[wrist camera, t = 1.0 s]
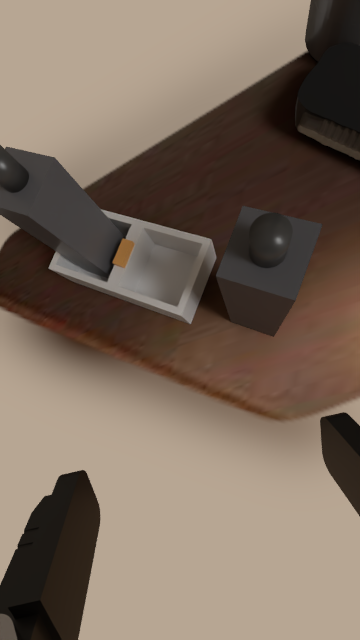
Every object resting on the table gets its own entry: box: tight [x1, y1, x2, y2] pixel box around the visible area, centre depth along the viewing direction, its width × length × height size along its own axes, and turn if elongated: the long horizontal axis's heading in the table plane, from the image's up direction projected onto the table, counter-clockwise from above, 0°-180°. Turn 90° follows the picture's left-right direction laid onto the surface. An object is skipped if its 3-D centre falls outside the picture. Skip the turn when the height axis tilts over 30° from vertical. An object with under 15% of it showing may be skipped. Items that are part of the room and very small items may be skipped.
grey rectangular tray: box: [49, 210, 216, 324], centre depth 28 cm, size 14×7×5 cm, turn 68°
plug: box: [216, 206, 322, 337], centre depth 20 cm, size 4×4×15 cm
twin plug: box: [0, 145, 126, 279], centre depth 24 cm, size 4×4×15 cm
